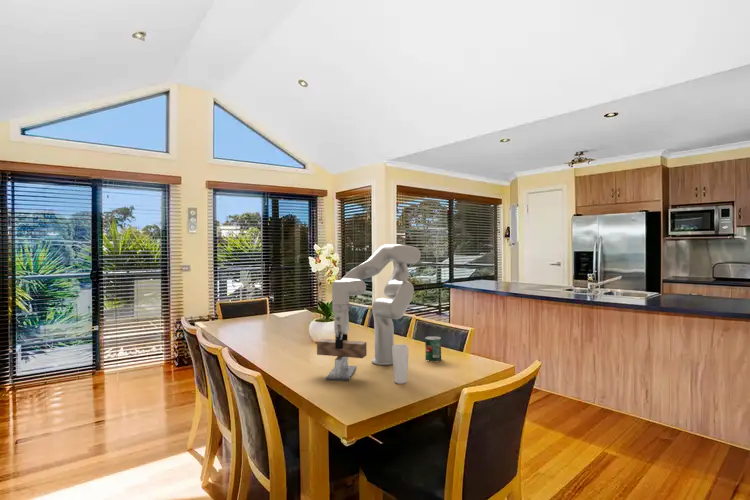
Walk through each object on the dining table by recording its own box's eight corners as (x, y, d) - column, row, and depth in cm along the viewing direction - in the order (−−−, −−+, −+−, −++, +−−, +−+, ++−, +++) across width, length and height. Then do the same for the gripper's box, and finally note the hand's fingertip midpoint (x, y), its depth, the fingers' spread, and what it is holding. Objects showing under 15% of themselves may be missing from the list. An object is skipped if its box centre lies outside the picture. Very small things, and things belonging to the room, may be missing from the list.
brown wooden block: (366, 355, 171) (366, 341, 171) (362, 358, 167) (362, 344, 167) (322, 351, 178) (321, 338, 178) (317, 354, 174) (316, 341, 174)
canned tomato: (422, 359, 193) (421, 337, 193) (432, 356, 198) (432, 335, 198) (434, 362, 187) (434, 340, 187) (444, 359, 192) (444, 337, 192)
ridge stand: (356, 368, 181) (356, 350, 181) (348, 381, 163) (348, 361, 163) (335, 367, 182) (335, 349, 182) (325, 380, 164) (325, 360, 164)
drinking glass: (404, 385, 156) (403, 349, 156) (389, 383, 160) (389, 347, 160) (411, 380, 162) (411, 345, 162) (397, 378, 165) (396, 343, 165)
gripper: (345, 310, 163) (345, 351, 163) (352, 304, 180) (353, 341, 181) (327, 310, 164) (328, 350, 164) (337, 304, 181) (337, 341, 182)
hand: (341, 345), depth 172 cm, fingers open, 9 cm apart
